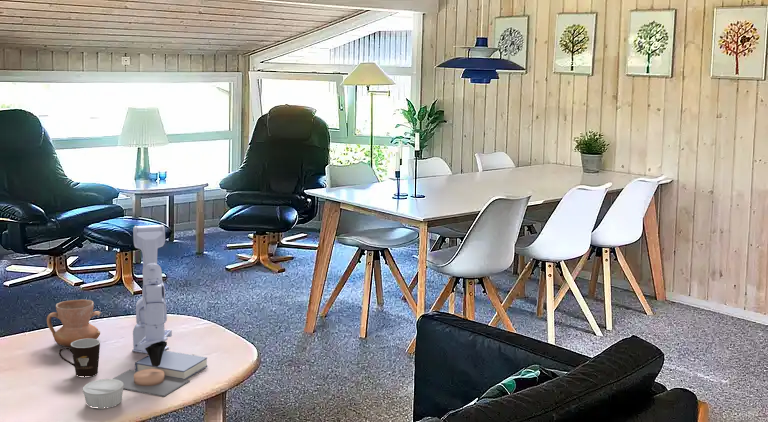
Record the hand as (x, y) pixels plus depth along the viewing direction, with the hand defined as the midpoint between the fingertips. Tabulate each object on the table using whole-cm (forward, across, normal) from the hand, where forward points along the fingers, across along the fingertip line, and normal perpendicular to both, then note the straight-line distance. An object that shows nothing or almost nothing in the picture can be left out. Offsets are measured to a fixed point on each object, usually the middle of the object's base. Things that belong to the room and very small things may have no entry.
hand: (156, 365), depth 266 cm
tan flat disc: (+4, -4, 0) cm, 5 cm away
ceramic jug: (+4, +15, +44) cm, 47 cm away
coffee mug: (+4, -6, +23) cm, 24 cm away
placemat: (+4, -5, 0) cm, 6 cm away
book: (+4, +8, 0) cm, 9 cm away
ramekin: (+4, -22, +2) cm, 23 cm away
